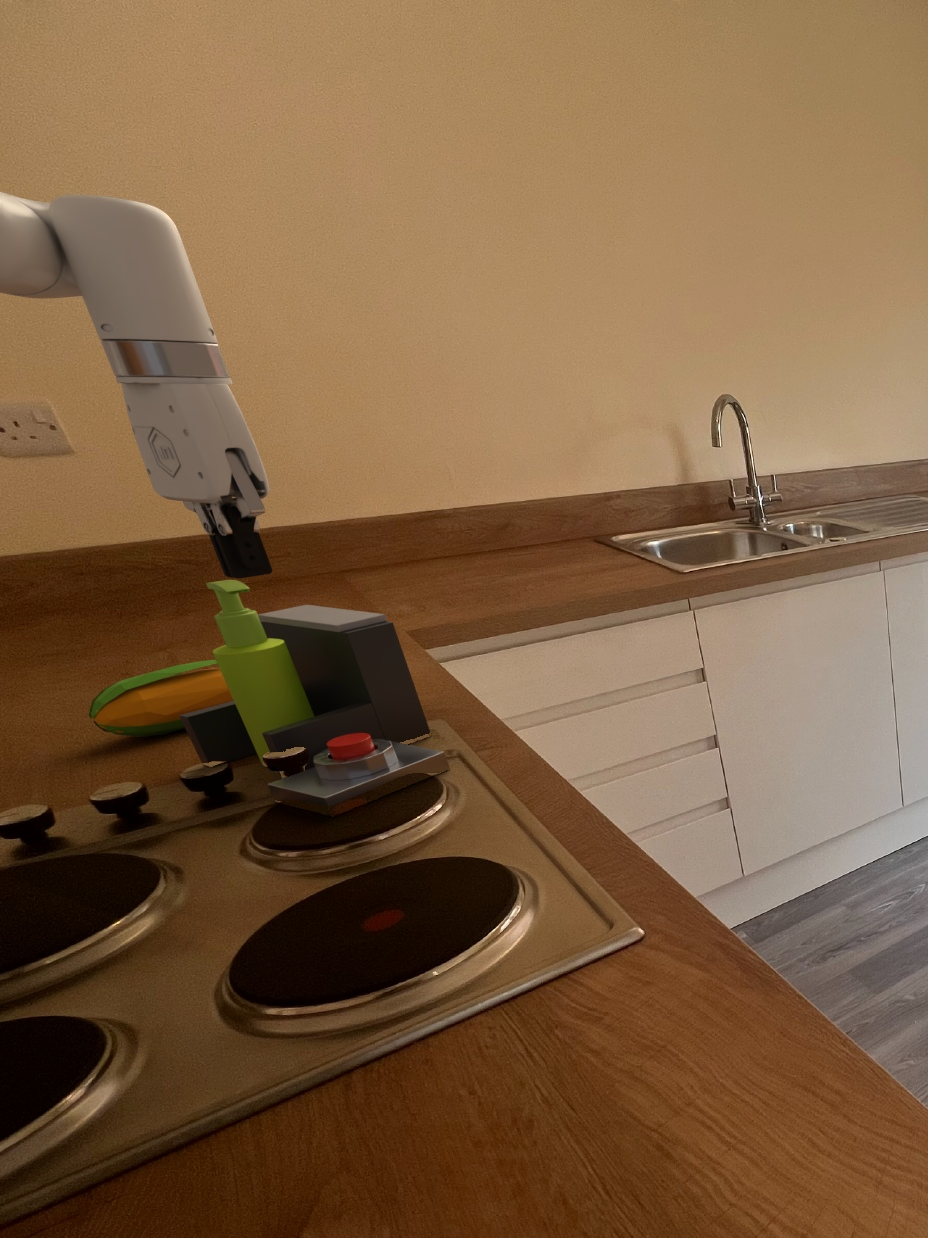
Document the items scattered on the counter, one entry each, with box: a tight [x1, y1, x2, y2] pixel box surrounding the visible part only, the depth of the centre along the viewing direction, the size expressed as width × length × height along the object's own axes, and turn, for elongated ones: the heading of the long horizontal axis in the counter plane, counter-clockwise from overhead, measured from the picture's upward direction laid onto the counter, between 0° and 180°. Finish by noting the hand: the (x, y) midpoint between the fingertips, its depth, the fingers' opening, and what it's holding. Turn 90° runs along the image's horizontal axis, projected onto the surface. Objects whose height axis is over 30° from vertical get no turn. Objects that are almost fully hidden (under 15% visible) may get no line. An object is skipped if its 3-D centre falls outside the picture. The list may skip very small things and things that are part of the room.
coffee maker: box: [180, 604, 431, 770], centre depth 94 cm, size 15×16×15 cm
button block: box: [267, 739, 451, 806], centre depth 87 cm, size 12×9×4 cm
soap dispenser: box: [205, 579, 315, 766], centre depth 91 cm, size 6×7×20 cm
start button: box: [327, 733, 376, 760], centre depth 86 cm, size 4×4×2 cm
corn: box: [88, 659, 234, 738], centre depth 105 cm, size 7×8×20 cm
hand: (249, 575), depth 82 cm, fingers closed
